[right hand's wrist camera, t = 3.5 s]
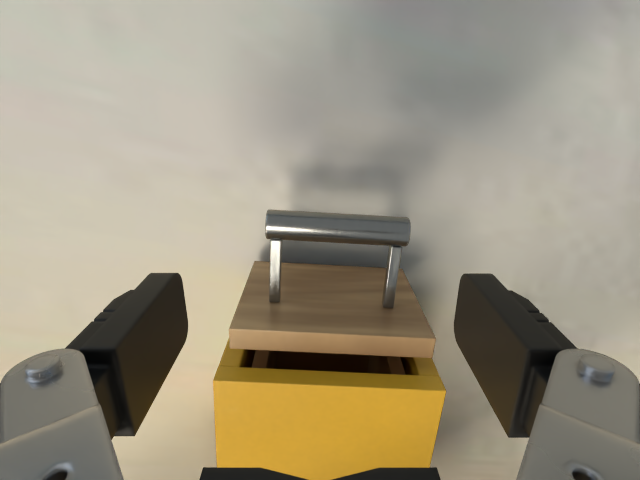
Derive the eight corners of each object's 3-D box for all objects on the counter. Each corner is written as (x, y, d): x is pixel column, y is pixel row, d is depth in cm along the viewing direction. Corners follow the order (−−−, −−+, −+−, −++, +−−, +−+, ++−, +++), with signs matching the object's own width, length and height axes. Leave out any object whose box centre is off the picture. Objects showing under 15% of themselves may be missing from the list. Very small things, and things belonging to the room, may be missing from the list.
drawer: (254, 185, 25) (226, 226, 17) (413, 195, 25) (455, 239, 18) (254, 451, 33) (234, 561, 25) (374, 456, 33) (391, 566, 26)
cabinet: (248, 283, 29) (212, 380, 19) (403, 291, 29) (446, 391, 19) (249, 471, 35) (223, 615, 26) (374, 476, 36) (396, 619, 26)
